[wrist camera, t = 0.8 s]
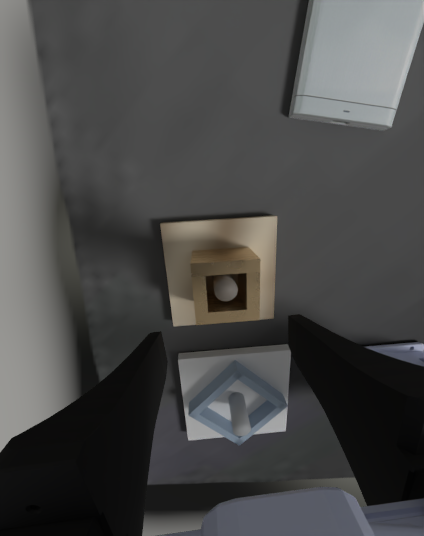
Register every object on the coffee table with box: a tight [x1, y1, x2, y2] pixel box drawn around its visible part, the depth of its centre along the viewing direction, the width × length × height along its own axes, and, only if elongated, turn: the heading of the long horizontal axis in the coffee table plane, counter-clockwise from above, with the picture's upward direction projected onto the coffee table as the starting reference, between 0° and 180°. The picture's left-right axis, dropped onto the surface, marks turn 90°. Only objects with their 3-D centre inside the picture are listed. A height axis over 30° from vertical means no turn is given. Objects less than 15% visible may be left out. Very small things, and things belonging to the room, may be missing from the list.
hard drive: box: [289, 0, 424, 131], centre depth 15 cm, size 2×8×12 cm
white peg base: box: [178, 344, 291, 445], centre depth 23 cm, size 12×12×4 cm
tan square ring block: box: [190, 247, 260, 325], centre depth 18 cm, size 5×5×4 cm
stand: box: [160, 215, 277, 327], centre depth 19 cm, size 10×10×4 cm
